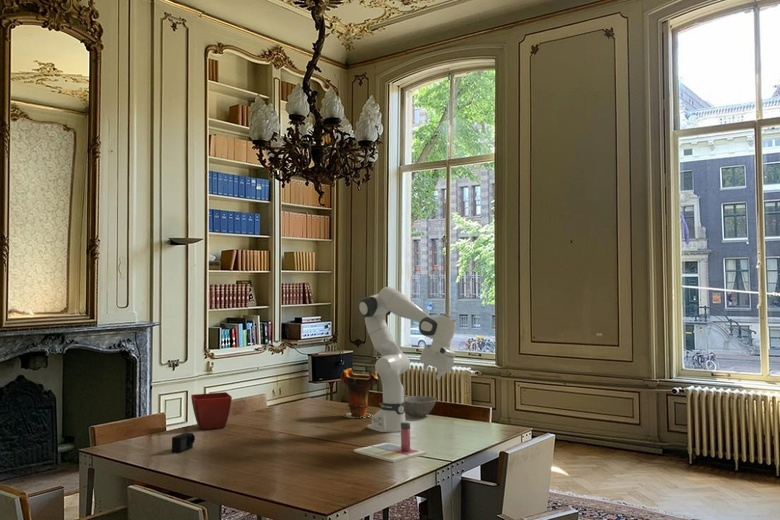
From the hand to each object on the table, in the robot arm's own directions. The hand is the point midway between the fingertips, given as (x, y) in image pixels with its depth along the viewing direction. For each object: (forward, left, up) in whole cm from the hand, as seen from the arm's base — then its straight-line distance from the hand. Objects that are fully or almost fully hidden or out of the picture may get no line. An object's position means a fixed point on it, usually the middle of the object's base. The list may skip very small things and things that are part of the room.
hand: (431, 376), depth 302 cm
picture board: (0, -27, -31) cm, 41 cm away
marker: (+5, -22, -30) cm, 38 cm away
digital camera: (-71, -90, -32) cm, 119 cm away
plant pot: (-111, -56, -32) cm, 128 cm away
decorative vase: (-78, +21, -32) cm, 87 cm away
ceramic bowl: (-54, +45, -32) cm, 77 cm away
